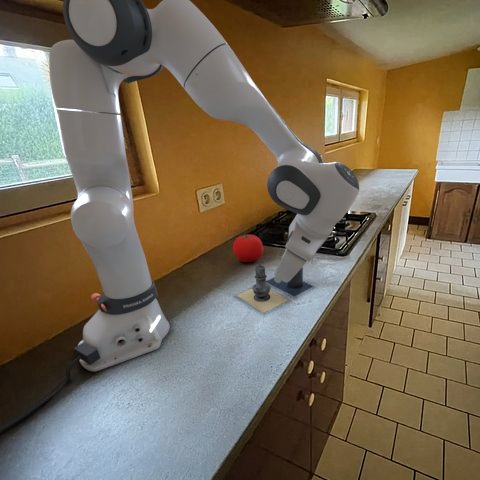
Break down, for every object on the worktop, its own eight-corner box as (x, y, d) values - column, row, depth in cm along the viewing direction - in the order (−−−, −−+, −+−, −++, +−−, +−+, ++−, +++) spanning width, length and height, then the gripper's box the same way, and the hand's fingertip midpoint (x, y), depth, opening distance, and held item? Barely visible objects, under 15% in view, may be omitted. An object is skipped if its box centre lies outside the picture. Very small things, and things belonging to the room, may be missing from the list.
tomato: (254, 252, 128) (253, 228, 123) (269, 261, 119) (267, 236, 115) (229, 259, 123) (226, 234, 118) (242, 269, 114) (239, 243, 109)
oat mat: (264, 314, 87) (264, 312, 87) (236, 296, 97) (235, 295, 96) (288, 300, 93) (288, 299, 93) (259, 285, 103) (259, 284, 102)
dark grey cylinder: (295, 290, 98) (295, 262, 93) (284, 284, 101) (284, 257, 97) (305, 284, 101) (306, 257, 96) (295, 279, 104) (295, 253, 99)
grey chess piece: (269, 303, 92) (267, 267, 86) (250, 301, 93) (247, 266, 87) (273, 293, 97) (271, 259, 91) (255, 291, 98) (252, 258, 92)
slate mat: (294, 297, 95) (294, 296, 94) (265, 282, 104) (265, 281, 104) (313, 287, 100) (313, 286, 100) (284, 274, 109) (284, 272, 109)
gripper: (306, 206, 78) (282, 243, 87) (286, 245, 62) (259, 286, 71) (326, 218, 78) (300, 254, 87) (311, 261, 63) (282, 300, 71)
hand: (281, 269), depth 79 cm, fingers open, 8 cm apart
